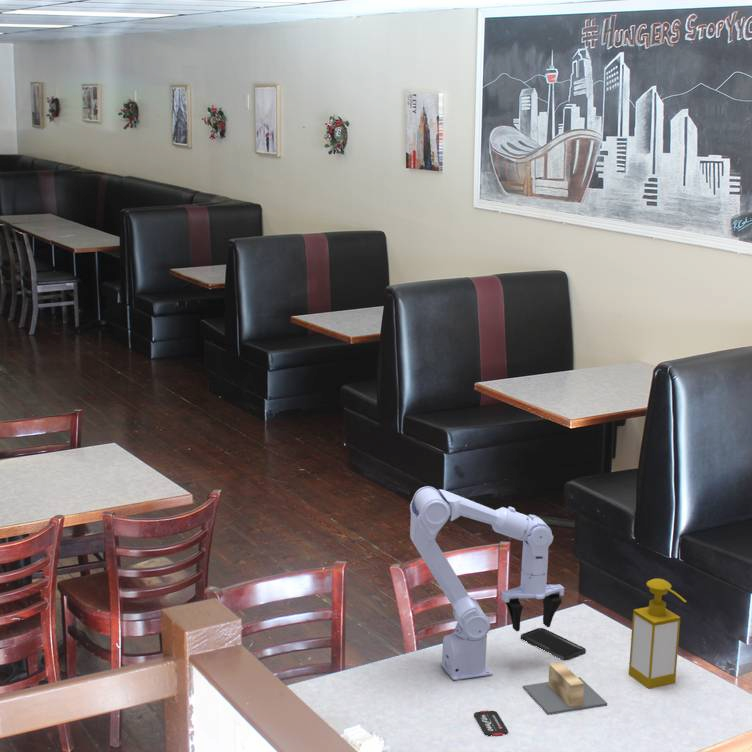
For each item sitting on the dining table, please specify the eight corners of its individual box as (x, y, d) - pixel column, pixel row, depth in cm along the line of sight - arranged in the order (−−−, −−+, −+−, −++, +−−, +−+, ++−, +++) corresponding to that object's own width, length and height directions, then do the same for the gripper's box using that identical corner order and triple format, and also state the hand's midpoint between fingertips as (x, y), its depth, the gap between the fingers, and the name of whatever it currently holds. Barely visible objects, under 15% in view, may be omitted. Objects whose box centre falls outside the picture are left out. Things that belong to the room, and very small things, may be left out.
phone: (541, 627, 268) (587, 649, 257) (541, 631, 268) (587, 653, 257) (518, 635, 264) (564, 658, 252) (518, 639, 264) (564, 663, 252)
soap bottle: (664, 700, 235) (673, 597, 230) (628, 674, 247) (635, 576, 242) (691, 694, 238) (700, 592, 233) (654, 668, 249) (662, 571, 245)
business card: (509, 733, 220) (486, 735, 219) (509, 736, 220) (485, 738, 219) (495, 709, 229) (472, 711, 228) (495, 712, 229) (472, 714, 228)
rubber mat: (547, 714, 228) (548, 712, 228) (522, 687, 240) (522, 685, 239) (607, 705, 233) (607, 703, 233) (579, 679, 244) (579, 677, 244)
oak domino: (548, 685, 240) (549, 664, 239) (560, 683, 241) (561, 662, 240) (570, 707, 231) (571, 685, 230) (582, 705, 232) (584, 683, 230)
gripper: (512, 581, 239) (509, 638, 242) (571, 574, 243) (568, 630, 246) (498, 569, 245) (496, 625, 248) (557, 562, 250) (553, 618, 253)
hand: (531, 627), depth 248 cm, fingers open, 7 cm apart
